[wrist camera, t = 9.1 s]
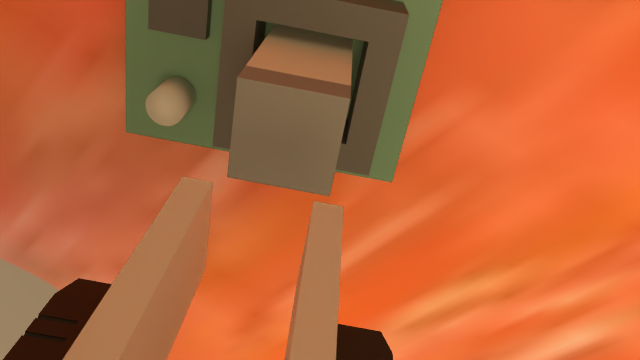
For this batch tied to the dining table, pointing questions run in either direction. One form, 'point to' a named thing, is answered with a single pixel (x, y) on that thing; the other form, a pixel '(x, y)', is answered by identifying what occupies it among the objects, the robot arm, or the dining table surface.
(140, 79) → the board
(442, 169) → the dining table surface
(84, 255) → the dining table surface
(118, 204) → the dining table surface
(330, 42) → the plug
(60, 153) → the dining table surface
